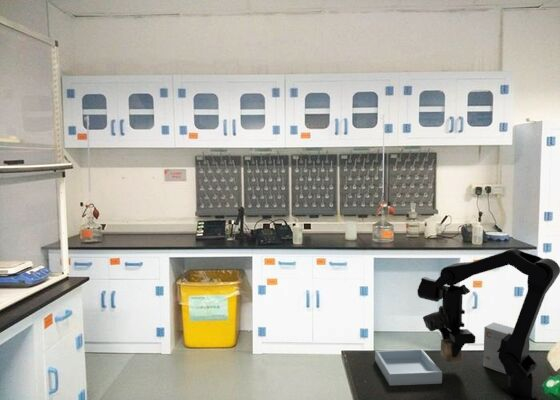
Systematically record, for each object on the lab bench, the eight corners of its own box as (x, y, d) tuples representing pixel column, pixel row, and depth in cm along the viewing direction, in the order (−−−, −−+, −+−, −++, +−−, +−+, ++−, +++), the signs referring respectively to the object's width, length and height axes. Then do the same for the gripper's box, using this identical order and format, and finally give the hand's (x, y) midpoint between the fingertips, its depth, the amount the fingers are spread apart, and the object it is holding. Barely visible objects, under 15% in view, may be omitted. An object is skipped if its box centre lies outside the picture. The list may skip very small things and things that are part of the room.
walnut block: (461, 360, 135) (461, 344, 135) (446, 361, 135) (447, 345, 135) (454, 354, 140) (454, 338, 139) (440, 354, 140) (441, 339, 139)
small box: (517, 369, 138) (519, 329, 136) (508, 375, 134) (510, 334, 132) (491, 360, 144) (493, 321, 143) (482, 366, 140) (483, 326, 139)
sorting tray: (441, 383, 130) (442, 372, 129) (389, 385, 129) (389, 374, 129) (421, 359, 145) (422, 348, 145) (375, 360, 144) (375, 350, 144)
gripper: (415, 296, 145) (414, 342, 146) (439, 317, 126) (437, 369, 128) (448, 295, 145) (447, 340, 147) (477, 315, 127) (475, 367, 128)
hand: (450, 353), depth 137 cm, fingers closed on walnut block, 4 cm apart
